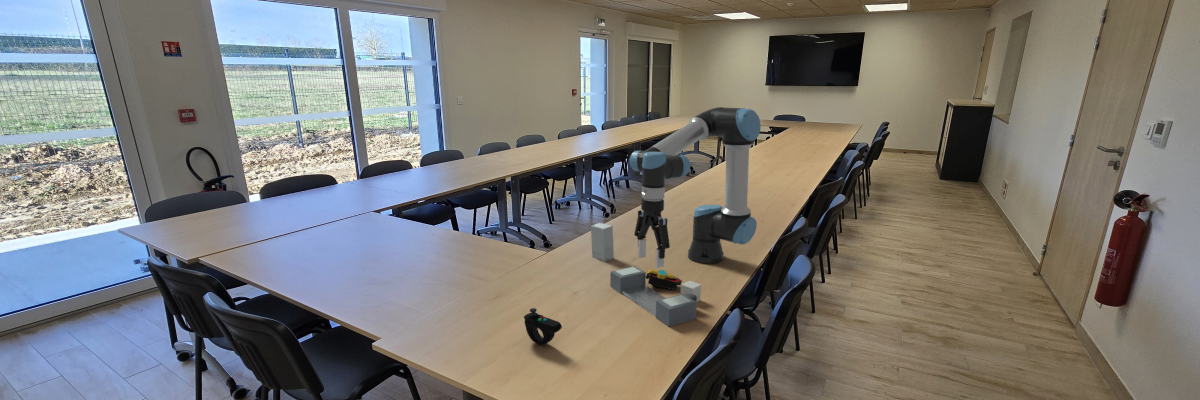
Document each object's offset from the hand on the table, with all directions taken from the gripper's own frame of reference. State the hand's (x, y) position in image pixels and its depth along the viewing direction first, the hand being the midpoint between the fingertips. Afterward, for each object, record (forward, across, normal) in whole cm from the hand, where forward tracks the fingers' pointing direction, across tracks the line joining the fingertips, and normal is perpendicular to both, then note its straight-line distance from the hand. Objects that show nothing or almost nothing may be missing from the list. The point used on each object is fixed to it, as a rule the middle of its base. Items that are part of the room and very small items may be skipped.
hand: (650, 262), depth 173 cm
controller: (+16, +8, -44) cm, 47 cm away
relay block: (+15, +6, +14) cm, 21 cm away
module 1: (+15, -15, 0) cm, 21 cm away
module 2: (+15, +14, 0) cm, 21 cm away
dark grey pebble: (+15, +12, +8) cm, 21 cm away
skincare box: (+15, -46, +7) cm, 49 cm away
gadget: (+16, -6, +14) cm, 22 cm away
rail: (+15, 0, 0) cm, 15 cm away
